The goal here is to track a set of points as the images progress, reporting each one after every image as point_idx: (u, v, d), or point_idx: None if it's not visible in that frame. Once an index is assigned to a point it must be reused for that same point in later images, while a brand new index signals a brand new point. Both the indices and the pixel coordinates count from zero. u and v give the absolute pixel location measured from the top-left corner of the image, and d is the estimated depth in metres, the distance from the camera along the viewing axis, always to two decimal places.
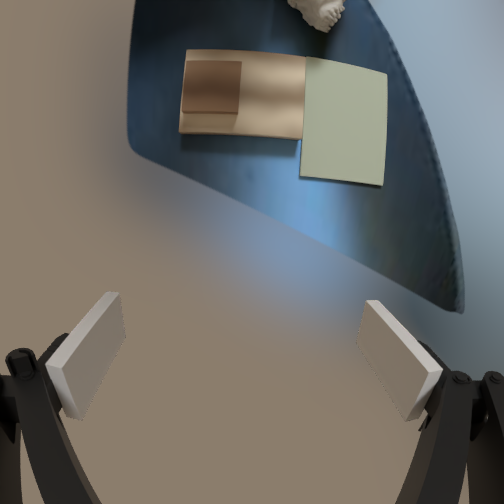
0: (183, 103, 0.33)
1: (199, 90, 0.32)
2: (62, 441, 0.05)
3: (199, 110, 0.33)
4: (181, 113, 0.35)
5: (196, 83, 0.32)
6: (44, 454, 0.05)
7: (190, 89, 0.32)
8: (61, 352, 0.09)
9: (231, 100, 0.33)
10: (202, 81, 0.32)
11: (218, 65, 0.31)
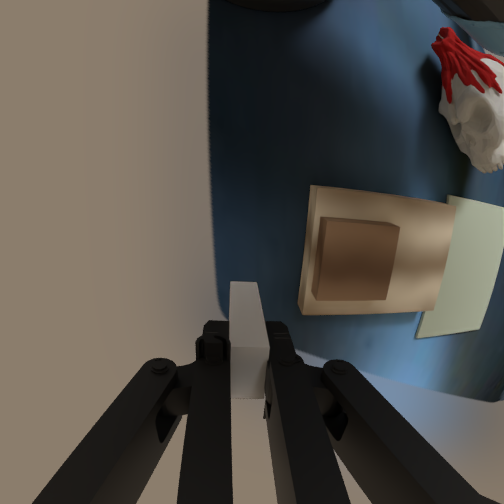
0: (320, 290, 0.25)
1: (343, 272, 0.25)
2: (230, 433, 0.07)
3: (340, 299, 0.26)
4: (307, 291, 0.27)
5: (340, 261, 0.24)
6: (204, 440, 0.06)
7: (331, 270, 0.24)
8: (236, 334, 0.11)
9: (380, 285, 0.25)
10: (348, 258, 0.24)
11: (371, 233, 0.24)
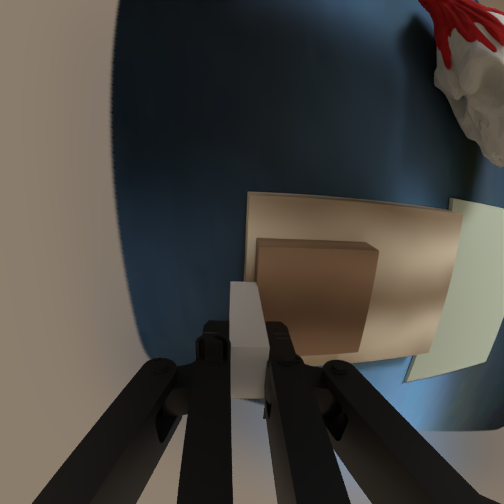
0: None
1: (290, 318, 0.17)
2: (230, 433, 0.07)
3: None
4: None
5: (284, 304, 0.17)
6: (204, 440, 0.06)
7: (271, 316, 0.17)
8: (236, 334, 0.11)
9: (350, 334, 0.18)
10: (297, 299, 0.17)
11: (332, 261, 0.16)
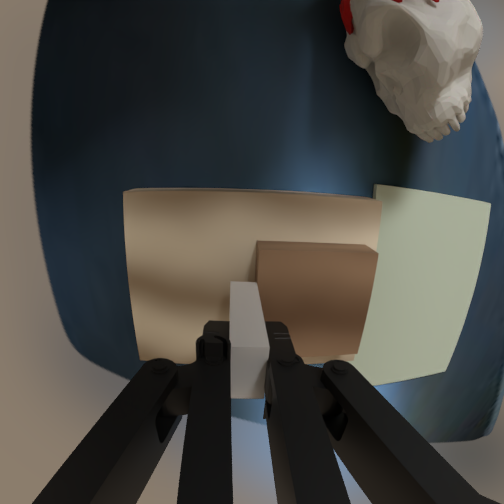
0: None
1: (290, 320, 0.17)
2: (230, 433, 0.07)
3: None
4: (137, 331, 0.19)
5: (284, 306, 0.17)
6: (204, 440, 0.06)
7: (271, 318, 0.17)
8: (236, 334, 0.11)
9: (349, 336, 0.18)
10: (296, 302, 0.17)
11: (332, 264, 0.16)
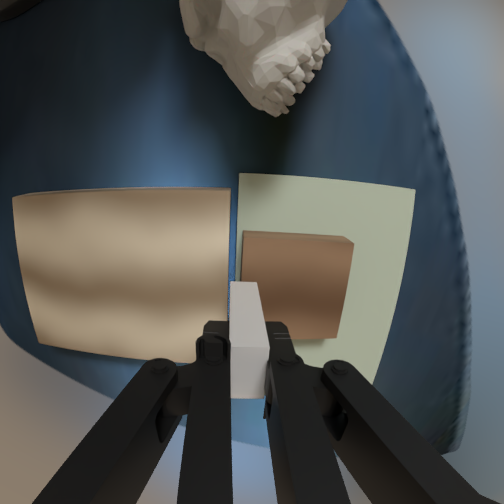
0: None
1: (272, 304, 0.19)
2: (230, 433, 0.07)
3: None
4: (32, 316, 0.18)
5: (266, 290, 0.19)
6: (204, 440, 0.06)
7: None
8: (236, 334, 0.11)
9: (328, 320, 0.20)
10: (278, 286, 0.19)
11: (310, 252, 0.18)
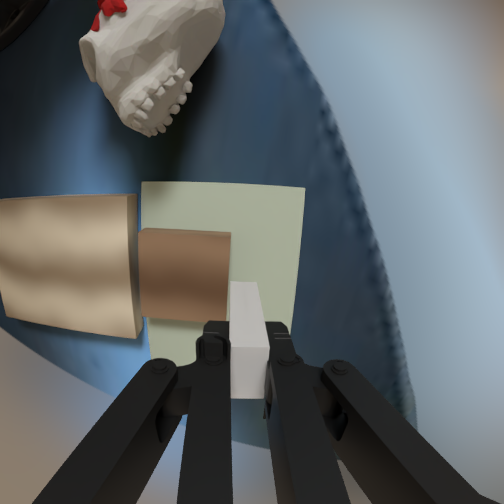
0: (143, 305, 0.23)
1: (164, 287, 0.22)
2: (230, 433, 0.07)
3: (168, 317, 0.23)
4: (2, 294, 0.22)
5: (158, 275, 0.22)
6: (204, 440, 0.06)
7: (150, 285, 0.22)
8: (236, 334, 0.11)
9: (215, 306, 0.23)
10: (167, 273, 0.22)
11: (191, 245, 0.22)
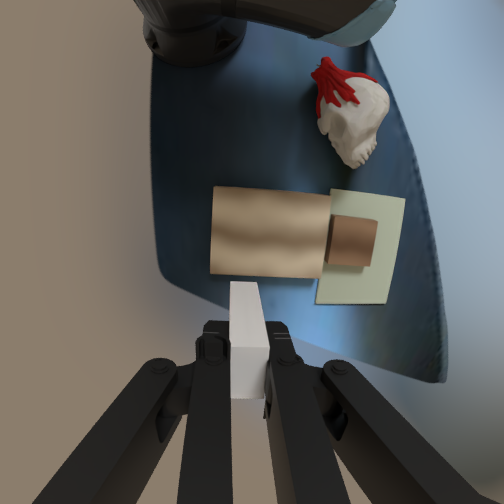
0: (330, 257, 0.42)
1: (343, 246, 0.42)
2: (230, 433, 0.07)
3: (341, 264, 0.43)
4: (211, 256, 0.41)
5: (342, 240, 0.41)
6: (204, 440, 0.06)
7: (336, 245, 0.42)
8: (236, 334, 0.11)
9: (366, 256, 0.42)
10: (347, 238, 0.41)
11: (360, 224, 0.41)
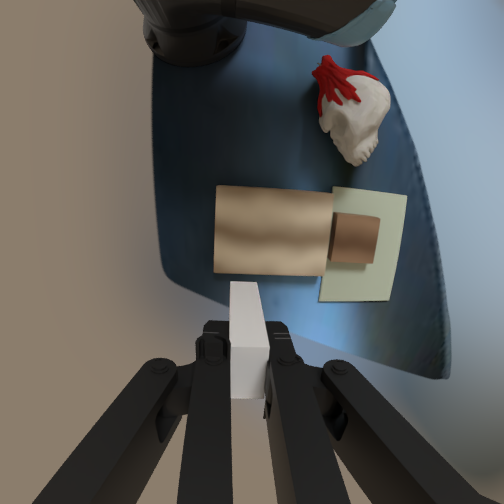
0: (333, 255, 0.42)
1: (346, 244, 0.42)
2: (230, 433, 0.07)
3: (345, 261, 0.43)
4: (215, 255, 0.41)
5: (345, 237, 0.41)
6: (204, 440, 0.06)
7: (339, 242, 0.42)
8: (236, 334, 0.11)
9: (369, 254, 0.42)
10: (349, 236, 0.41)
11: (363, 221, 0.41)
